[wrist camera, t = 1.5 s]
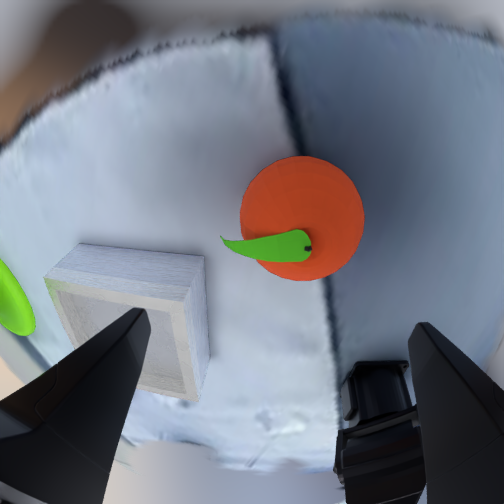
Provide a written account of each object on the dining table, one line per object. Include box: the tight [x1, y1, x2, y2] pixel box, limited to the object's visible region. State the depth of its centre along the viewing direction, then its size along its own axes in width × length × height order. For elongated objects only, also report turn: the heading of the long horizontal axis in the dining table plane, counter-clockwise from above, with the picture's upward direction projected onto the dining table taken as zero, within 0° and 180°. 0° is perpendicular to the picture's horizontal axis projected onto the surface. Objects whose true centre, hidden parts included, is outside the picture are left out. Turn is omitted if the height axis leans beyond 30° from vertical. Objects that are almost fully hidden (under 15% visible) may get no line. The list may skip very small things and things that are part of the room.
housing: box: [43, 244, 210, 402], centre depth 22 cm, size 12×12×6 cm
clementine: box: [220, 156, 365, 281], centre depth 16 cm, size 8×7×7 cm
